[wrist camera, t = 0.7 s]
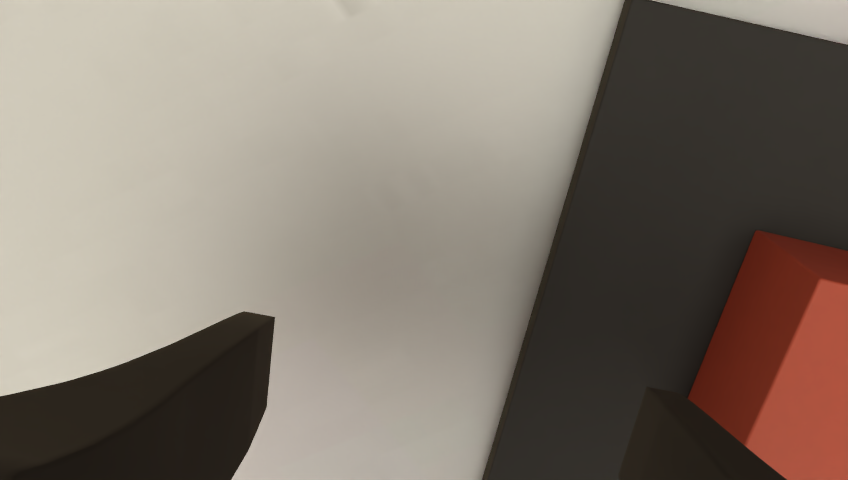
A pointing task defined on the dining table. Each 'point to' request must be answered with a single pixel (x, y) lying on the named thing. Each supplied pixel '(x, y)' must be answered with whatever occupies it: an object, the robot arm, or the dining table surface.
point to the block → (783, 358)
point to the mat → (669, 223)
